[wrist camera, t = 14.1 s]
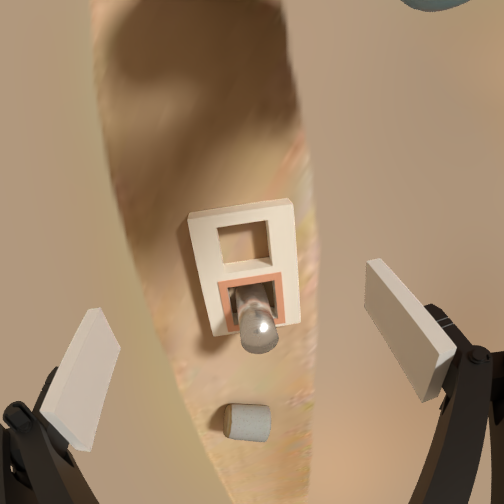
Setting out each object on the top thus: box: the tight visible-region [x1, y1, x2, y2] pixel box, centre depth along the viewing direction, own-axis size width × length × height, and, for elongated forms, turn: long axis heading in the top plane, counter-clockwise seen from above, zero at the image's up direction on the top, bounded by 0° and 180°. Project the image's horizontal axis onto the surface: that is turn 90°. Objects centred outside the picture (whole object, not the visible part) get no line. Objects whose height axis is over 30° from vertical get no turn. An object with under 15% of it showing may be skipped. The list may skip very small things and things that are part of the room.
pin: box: [235, 283, 278, 354], centre depth 41 cm, size 4×4×11 cm
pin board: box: [187, 198, 301, 337], centre depth 43 cm, size 18×13×3 cm
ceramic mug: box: [223, 404, 271, 442], centre depth 54 cm, size 11×8×8 cm
